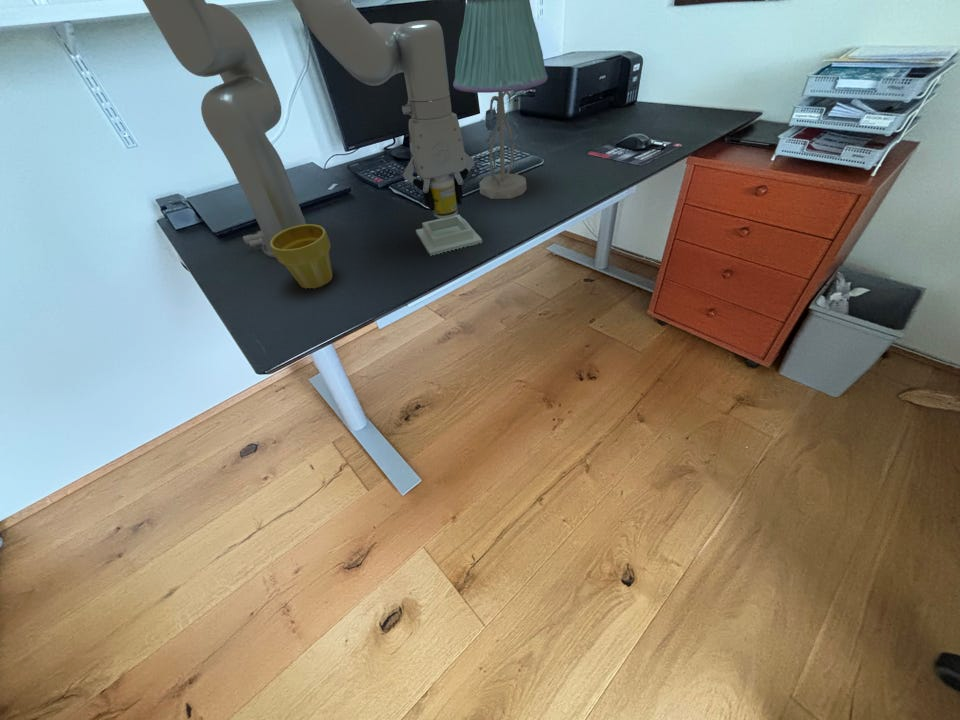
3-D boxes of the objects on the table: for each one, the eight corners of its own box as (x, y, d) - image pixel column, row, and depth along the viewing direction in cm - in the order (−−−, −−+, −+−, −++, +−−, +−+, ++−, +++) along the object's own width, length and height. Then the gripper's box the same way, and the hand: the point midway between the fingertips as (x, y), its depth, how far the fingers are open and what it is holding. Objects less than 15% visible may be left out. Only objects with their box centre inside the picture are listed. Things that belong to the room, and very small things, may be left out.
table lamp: (487, 171, 120) (478, -10, 93) (555, 180, 112) (567, -16, 84) (448, 199, 107) (423, -1, 80) (521, 212, 99) (522, -9, 71)
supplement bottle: (430, 211, 89) (422, 165, 82) (453, 206, 90) (447, 160, 83) (437, 221, 85) (429, 173, 78) (461, 215, 86) (456, 167, 80)
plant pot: (281, 295, 79) (259, 250, 72) (301, 267, 87) (282, 224, 80) (332, 294, 78) (314, 248, 71) (347, 266, 86) (332, 222, 79)
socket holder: (430, 256, 86) (428, 244, 84) (416, 233, 94) (414, 221, 93) (482, 242, 89) (481, 231, 87) (464, 221, 97) (462, 210, 95)
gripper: (389, 121, 69) (410, 221, 82) (481, 104, 73) (487, 202, 86) (381, 112, 75) (401, 208, 87) (467, 97, 78) (475, 191, 91)
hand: (444, 204), depth 86 cm, fingers closed on supplement bottle, 5 cm apart
